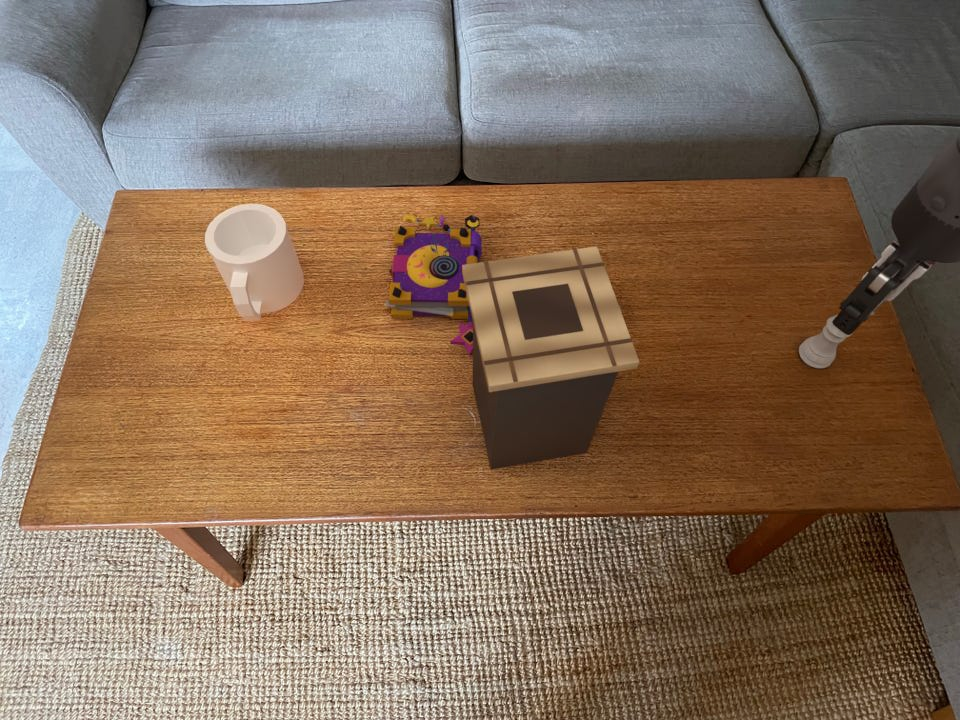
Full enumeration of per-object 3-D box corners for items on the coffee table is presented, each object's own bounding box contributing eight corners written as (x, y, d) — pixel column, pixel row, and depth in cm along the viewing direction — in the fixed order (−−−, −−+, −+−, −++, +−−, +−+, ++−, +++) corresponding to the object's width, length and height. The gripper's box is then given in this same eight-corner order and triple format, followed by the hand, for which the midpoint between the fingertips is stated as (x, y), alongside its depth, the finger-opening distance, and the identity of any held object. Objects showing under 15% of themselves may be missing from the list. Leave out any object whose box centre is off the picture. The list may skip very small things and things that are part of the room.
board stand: (586, 453, 79) (623, 361, 60) (490, 469, 78) (497, 381, 59) (561, 369, 85) (588, 262, 67) (472, 383, 84) (473, 278, 65)
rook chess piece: (825, 375, 86) (856, 343, 79) (792, 360, 87) (820, 326, 80) (835, 351, 88) (866, 317, 81) (803, 336, 89) (831, 302, 82)
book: (489, 223, 98) (492, 161, 88) (489, 365, 86) (492, 312, 75) (393, 221, 98) (384, 159, 88) (378, 363, 85) (366, 310, 75)
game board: (636, 368, 60) (640, 361, 59) (488, 392, 59) (489, 385, 57) (595, 253, 67) (597, 245, 66) (462, 272, 66) (462, 264, 64)
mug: (297, 332, 88) (277, 284, 79) (221, 334, 87) (192, 286, 78) (307, 255, 95) (290, 202, 85) (236, 256, 94) (212, 204, 85)
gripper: (962, 263, 51) (856, 367, 65) (1048, 183, 56) (932, 295, 70) (879, 209, 54) (795, 319, 68) (967, 136, 59) (872, 253, 73)
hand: (865, 307), depth 69 cm, fingers open, 8 cm apart
